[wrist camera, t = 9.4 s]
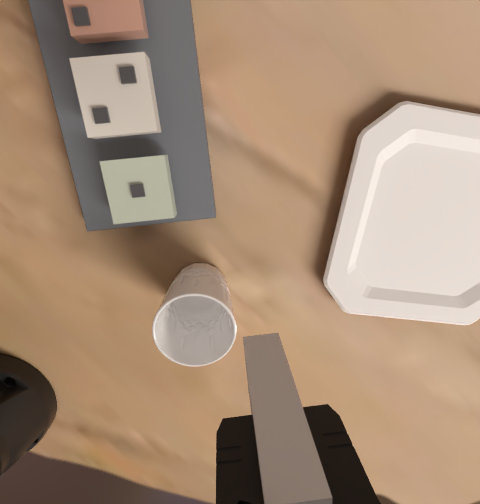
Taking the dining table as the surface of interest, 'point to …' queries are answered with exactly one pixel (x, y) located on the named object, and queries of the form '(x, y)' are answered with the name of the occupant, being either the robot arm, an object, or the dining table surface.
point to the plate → (411, 219)
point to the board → (168, 103)
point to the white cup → (195, 317)
